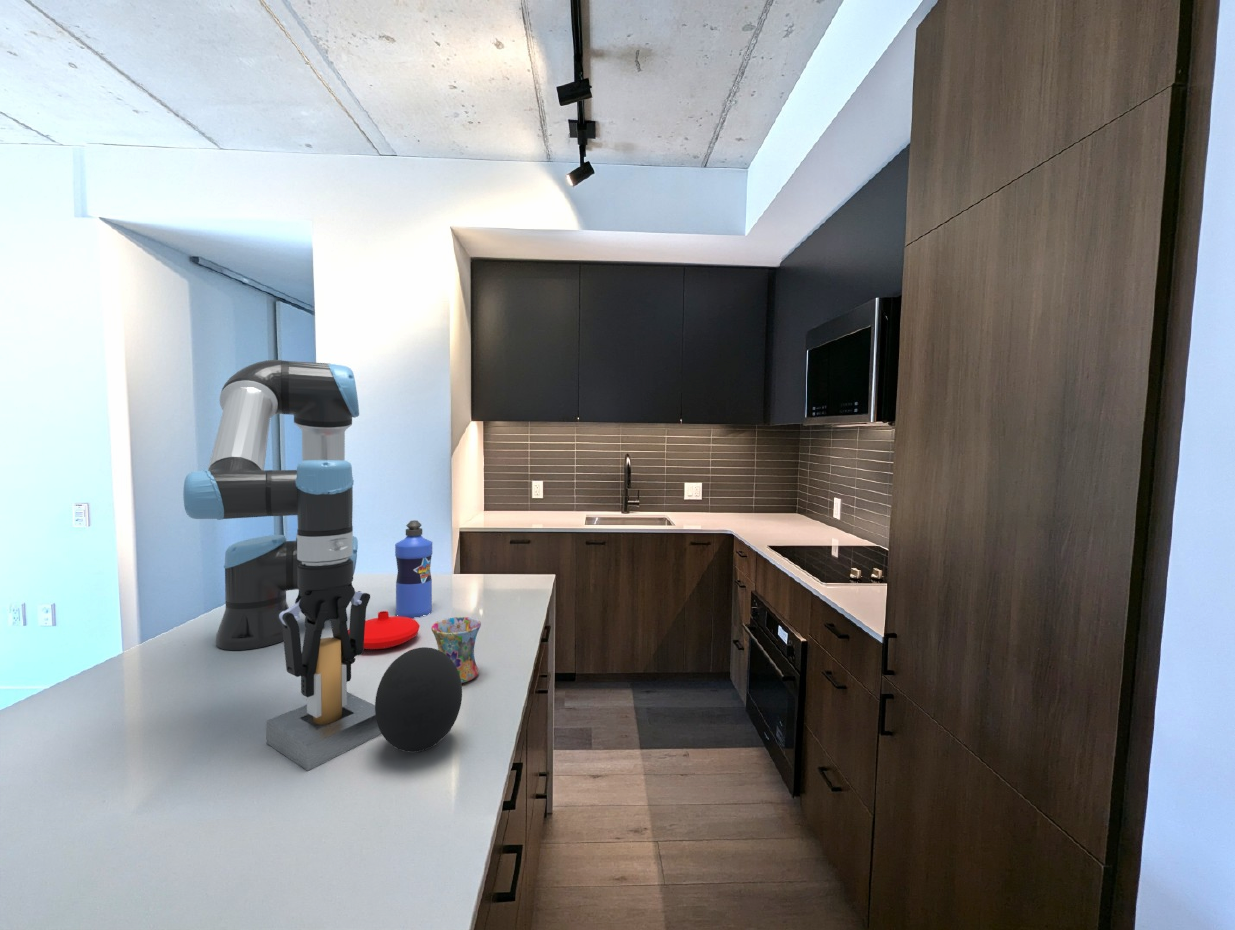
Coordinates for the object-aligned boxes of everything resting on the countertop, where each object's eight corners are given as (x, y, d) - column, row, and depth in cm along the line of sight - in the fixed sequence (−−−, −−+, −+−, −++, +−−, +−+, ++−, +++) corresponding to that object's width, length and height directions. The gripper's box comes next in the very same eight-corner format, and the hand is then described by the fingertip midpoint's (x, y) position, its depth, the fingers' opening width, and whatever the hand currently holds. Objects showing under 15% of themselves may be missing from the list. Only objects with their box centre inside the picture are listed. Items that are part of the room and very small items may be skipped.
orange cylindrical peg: (307, 719, 81) (306, 643, 80) (333, 708, 84) (331, 635, 84) (321, 727, 79) (320, 649, 78) (347, 715, 82) (346, 640, 81)
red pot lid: (328, 649, 116) (328, 618, 116) (384, 626, 130) (384, 598, 130) (382, 661, 110) (381, 628, 110) (434, 636, 124) (434, 607, 124)
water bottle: (439, 609, 144) (439, 519, 143) (416, 620, 135) (416, 524, 134) (412, 605, 147) (412, 517, 146) (387, 615, 138) (387, 522, 137)
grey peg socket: (266, 743, 80) (266, 720, 80) (343, 709, 90) (343, 690, 90) (307, 770, 73) (307, 746, 73) (385, 731, 83) (385, 710, 83)
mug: (484, 683, 100) (484, 629, 100) (433, 692, 97) (433, 635, 96) (475, 659, 111) (475, 610, 111) (429, 666, 108) (429, 615, 107)
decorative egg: (398, 723, 86) (397, 633, 85) (472, 725, 85) (472, 635, 85) (358, 770, 74) (357, 666, 73) (445, 773, 73) (445, 668, 73)
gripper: (280, 574, 71) (282, 741, 72) (388, 554, 85) (389, 694, 86) (255, 566, 75) (257, 725, 76) (361, 548, 89) (362, 682, 90)
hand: (327, 708), depth 81 cm, fingers closed on orange cylindrical peg, 3 cm apart
